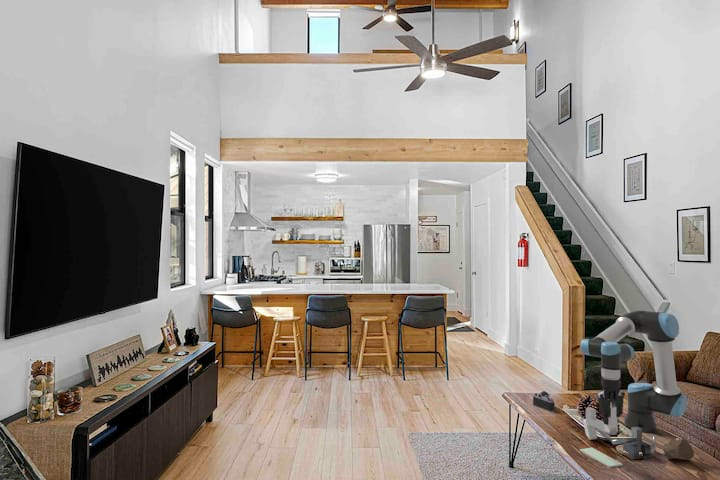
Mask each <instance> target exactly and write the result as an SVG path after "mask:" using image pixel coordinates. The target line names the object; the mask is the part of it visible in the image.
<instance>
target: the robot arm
mask: <svg viewBox="0 0 720 480" xmlns="http://www.w3.org/2000/svg"><path fill="white" fill-rule="evenodd" d="M679 330H680V325H679V322H678V319H677V318H676V316H675V315H674V314H673V313H667V312H660V311H659V312H657V311H648V310H634V311H630V312H627V313H625V314H623V315H621V316H619V317H618V318H617V319H616V320H615V323H614V324H612V325H610V326H609V327H607V328H606V329H604V331H602V332H600V333H598V335H597V336H595V337H593V338H592V339H589V338H583V339H582V340H581V342H580V345H579V347H580V352H581V353H582V354H583V355H586V356H589V357H595V358H601V359H600V360H601V362H600V363H601V364H600V365H601V366H600V367H601V370H600V371H601V373H600V375H601V378H600V381H601V382H600V383H601V384H600V385H601V386H602V389H601V392H597V393H596V396H597V402H598V403H597V404H598V413H599V416H602V418H603V420H602V421H603V422H604V425H605V431H606V432H609V433H611V418H610V417H609V412H610V405H613V406H615V407H616V433H618V431H619V430H618V428H619V427H618V425H619V418H621V416H622V415H623V413H624V411H623V410H624V398H625V394H626V393H625V392H624V391H622V390H621V389H620V388H621V364H622V363H624V362H628V361H631V360H632V359H634V357H635V349H634V348H633V346H631V345H630V344H628V343H620V344H619V343H618V342H619V341H621V340H622V339H624V338H625V337H626V336H629V335H632V334H642V335H643V334H644V335H647V339H648V341H650V342H651V347H652V355H653V362H654V370H655V379H656V385H655V386H654V385H653V384H651V383H649V382H632V383H630V384H628V386H627V391H626V392H627V412H626V415H625V418H624V419H623V420H624V421H623V422H624V423H623V425H624V424H625V425H626V426H628V427H629V428H631V427H638V428H641V429H642V433H656V432H657V431H658V424H657V423H656V420H655V416H654V412H656V413H659V414H662V415H667V416H670V417H675V418H681V417H682V416H683V415H684V414H685V413H686V410H687V406H688V398H687V396H686V394H684V393H683V394H682V390H681V387H679V386H678V384H677V378H676V374H677V373H676V367H675V360H674V350H673V348H674V347H673V342H675V340H676V338H677V337H678V336H679V334H680V332H679ZM625 425H624V426H625ZM626 426H625V427H626ZM629 428H628V429H629Z"/></svg>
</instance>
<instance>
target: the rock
mask: <svg viewBox="0 0 720 480" xmlns="http://www.w3.org/2000/svg"><path fill="white" fill-rule="evenodd" d="M662 448H663V454H665V457H666V458H667V459H668V460H669V459H677V460H683V461H684V460H692V459H693V458H694V457H695V452H694V449H693V447H692V445H691V444H690V443H689V441H688V440H686V439H685V438H682V439H681V438H679V437H676V438H672V439H671V440H669V441H668V442H667V443H665V444H664V445H663V447H662Z"/></svg>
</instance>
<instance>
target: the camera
mask: <svg viewBox="0 0 720 480" xmlns="http://www.w3.org/2000/svg"><path fill="white" fill-rule="evenodd" d="M532 405H533V406H534V407H537V408H540V409H542V410H545V411H547V412H551V413H554V412H555V405H556V403H555V400H554V398H553V397H551V396H550V394H549V392H547V391H545V390H543V391H541V392H539V393H538V392H534V393H533V394H532Z"/></svg>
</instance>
